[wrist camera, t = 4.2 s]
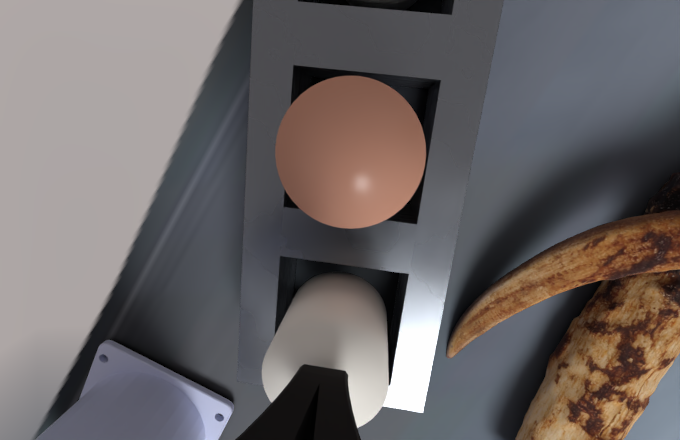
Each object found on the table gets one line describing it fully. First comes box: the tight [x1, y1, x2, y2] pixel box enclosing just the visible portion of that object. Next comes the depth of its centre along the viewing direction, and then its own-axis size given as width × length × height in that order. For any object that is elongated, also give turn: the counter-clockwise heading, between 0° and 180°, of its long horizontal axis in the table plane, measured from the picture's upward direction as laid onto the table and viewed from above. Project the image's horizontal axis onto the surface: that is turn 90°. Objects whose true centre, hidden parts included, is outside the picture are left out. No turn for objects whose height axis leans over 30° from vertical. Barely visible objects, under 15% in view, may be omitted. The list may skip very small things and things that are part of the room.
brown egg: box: [275, 76, 426, 229], centre depth 12 cm, size 4×4×4 cm
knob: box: [262, 272, 389, 428], centre depth 14 cm, size 4×4×4 cm
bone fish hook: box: [446, 172, 680, 440], centre depth 16 cm, size 9×5×18 cm
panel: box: [237, 0, 504, 413], centre depth 15 cm, size 21×8×4 cm, turn 174°
